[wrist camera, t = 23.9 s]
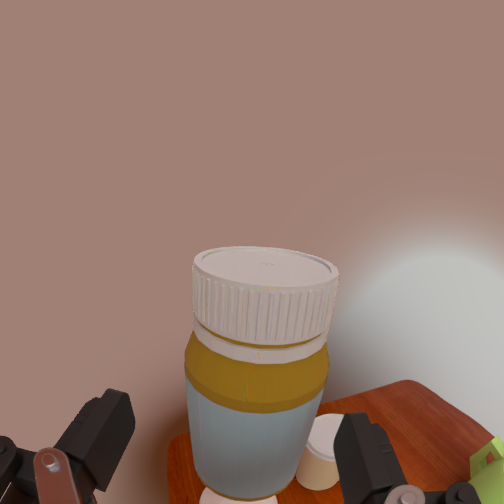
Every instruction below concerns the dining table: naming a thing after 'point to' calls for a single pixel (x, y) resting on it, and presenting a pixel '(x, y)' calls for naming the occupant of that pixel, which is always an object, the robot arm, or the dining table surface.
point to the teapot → (488, 473)
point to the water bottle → (210, 500)
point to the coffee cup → (320, 454)
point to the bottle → (256, 365)
